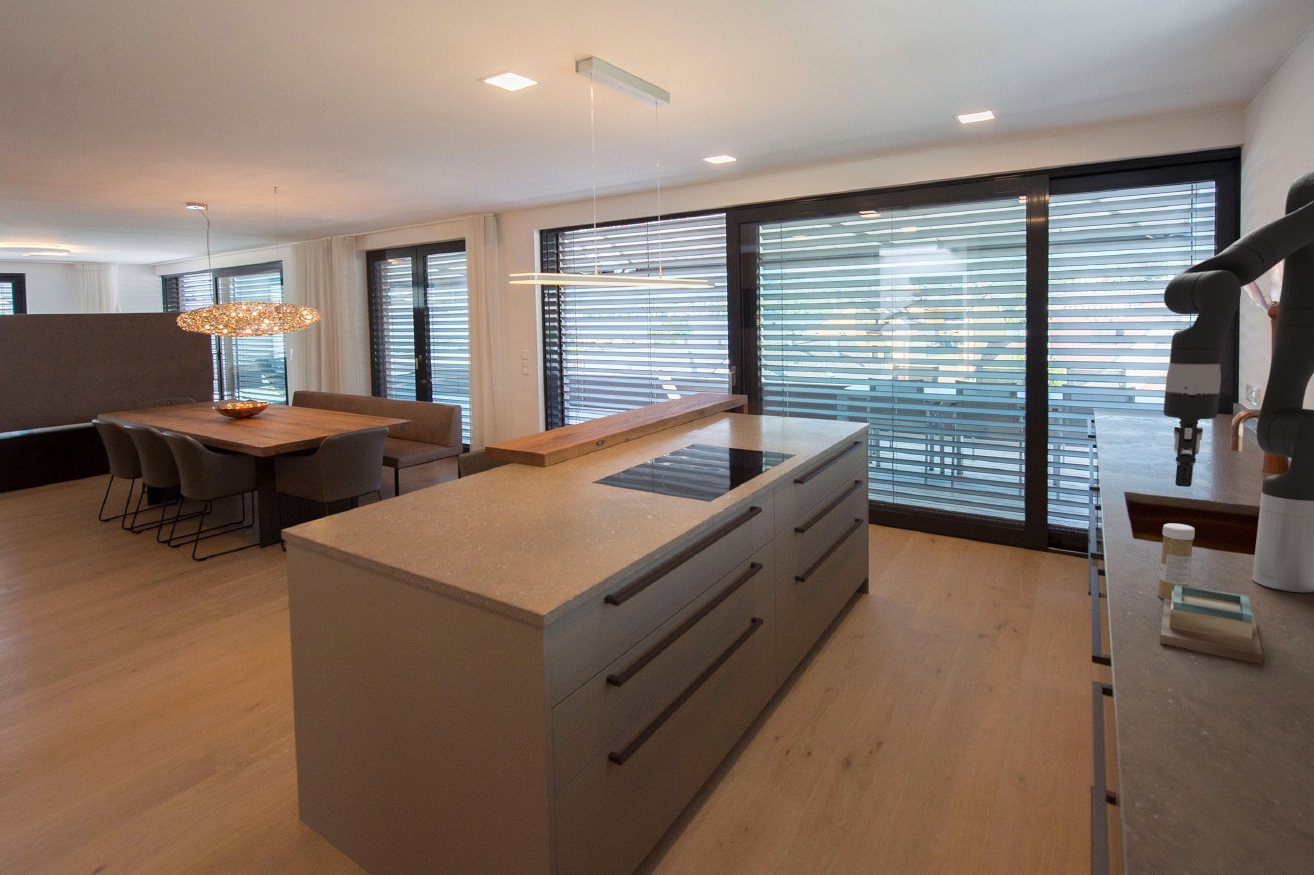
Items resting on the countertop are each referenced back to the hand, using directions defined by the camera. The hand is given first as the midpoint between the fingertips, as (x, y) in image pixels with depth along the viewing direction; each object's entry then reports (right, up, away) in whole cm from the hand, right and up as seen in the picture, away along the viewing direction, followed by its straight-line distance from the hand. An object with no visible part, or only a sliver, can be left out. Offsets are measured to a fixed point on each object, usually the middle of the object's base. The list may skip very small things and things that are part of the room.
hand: (1183, 481), depth 124 cm
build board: (-5, -23, -11) cm, 27 cm away
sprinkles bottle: (0, -21, +3) cm, 22 cm away
